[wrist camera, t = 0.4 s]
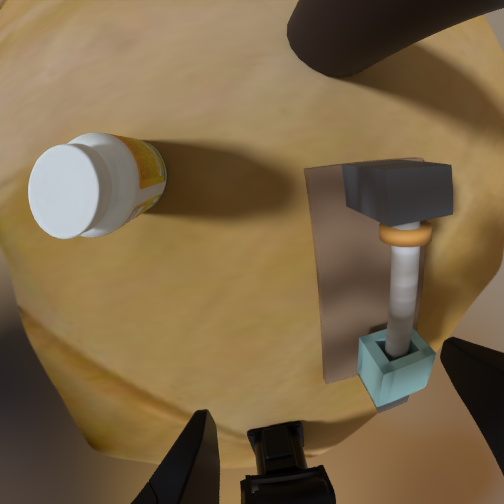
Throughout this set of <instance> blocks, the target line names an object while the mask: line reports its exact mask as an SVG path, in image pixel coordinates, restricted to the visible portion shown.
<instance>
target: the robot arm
mask: <svg viewBox="0 0 504 504" xmlns="http://www.w3.org/2000/svg"><path fill="white" fill-rule="evenodd" d="M440 359H441V362H442V364H443V366H444V368H445V370H446V372H447V374H448V376H449V378H450V379H451V382H452V383H453V386H454V387H455V389H456V391H457V392H458V394H459V396H460V397H461V399H462V401H463V402H464V404H465V405H466V407H467V409H468V410H469V412H470V414H471V415H472V417H473V419H474V420H475V422H476V424H477V425H478V427H479V429H480V431H481V432H482V434H483V436H484V438H485V440H486V442H487V443H488V445H489V447H490V449H491V451H492V453H493V455H494V457H495V458H496V461H497V463H498V465H499V467H500V469H501V471H502V473H503V475H504V353H502V352H499V351H496V350H493V349H490V348H487V347H484V346H480V345H477V344H474V343H471V342H468V341H465V340H462V339H459V338H455V337H450V338H448V339H446V340H445V341H444V342H443V346H442V350H441V355H440ZM247 436H248V439H249V441H250V444H251V446H252V449H253V451H254V453H255V455H256V465H257V473H258V475H251V476H250V475H246V479H244V480H242V481H240V485H241V504H336V498H335V493H334V489H333V486H332V484H331V482H330V480H329V478H328V475H327V473H326V471H325V469H324V466H323V465H319V466H318V467H313V468H308V467H307V463H306V459H305V455H304V451H303V447H304V438H303V429H302V423H301V422H294V423H289V424H284V425H279V426H274V427H268V428H262V429H256V430H250V431H247ZM219 487H220V459H219V449H218V440H217V430H216V424H215V422H214V420H213V418H212V416H211V414H210V412H209V411H208V410H207V409H204V410H197V411H196V412H195V413H194V414H193V416H192V417H191V419H190V421H189V422H188V424H187V425H186V427H185V428H184V430H183V431H182V433H181V434H180V436H179V437H178V439H177V440H176V442H175V443H174V445H173V446H172V448H171V449H170V450H169V452H168V453H167V455H166V456H165V458H164V459H163V461H162V462H161V464H160V465H159V466H158V468H157V469H156V471H155V472H154V474H153V475H152V477H151V478H150V479H149V482H147V483H146V485H145V486H144V488H143V489H142V490H141V492H140V493H139V494H138V496H137V497H136V498H135V499H134V501H133V502H132V503H131V504H219V489H220V488H219ZM253 492H254V493H253Z"/></svg>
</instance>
